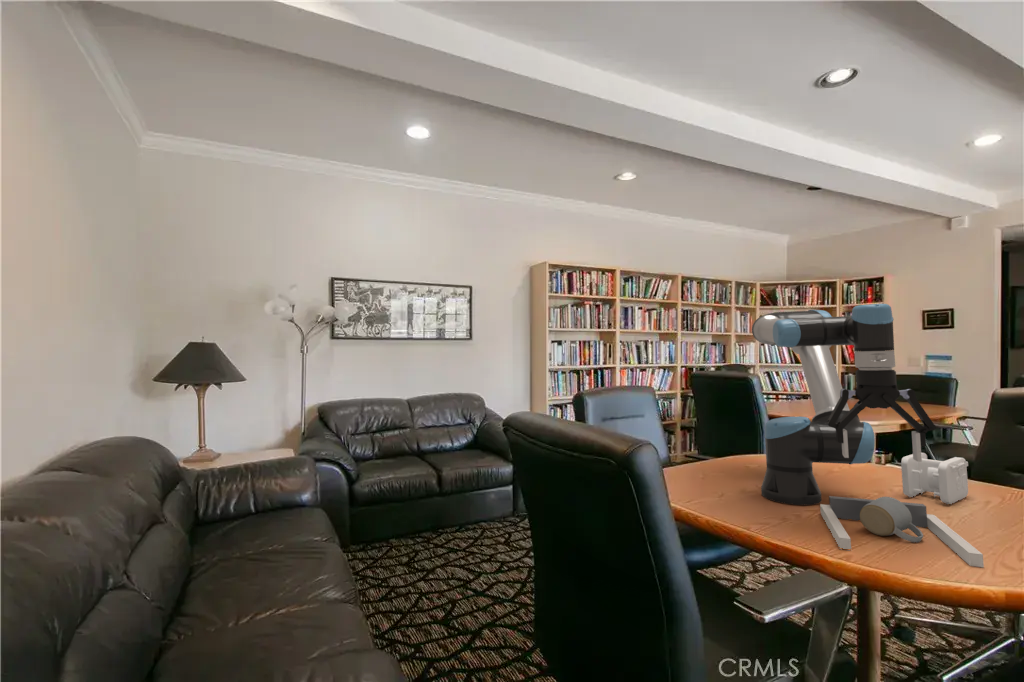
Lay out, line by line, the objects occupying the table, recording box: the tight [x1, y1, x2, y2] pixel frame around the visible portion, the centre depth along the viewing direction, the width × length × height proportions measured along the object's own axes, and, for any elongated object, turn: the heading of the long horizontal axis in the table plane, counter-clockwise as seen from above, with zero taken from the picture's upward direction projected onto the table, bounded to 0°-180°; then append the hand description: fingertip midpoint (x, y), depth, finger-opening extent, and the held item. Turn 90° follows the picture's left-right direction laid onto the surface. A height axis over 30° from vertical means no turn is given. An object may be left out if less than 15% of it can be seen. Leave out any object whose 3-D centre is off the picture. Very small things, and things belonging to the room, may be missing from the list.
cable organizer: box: [900, 452, 969, 505], centre depth 129 cm, size 15×11×12 cm
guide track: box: [819, 495, 985, 568], centre depth 104 cm, size 23×24×5 cm
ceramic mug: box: [860, 496, 924, 543], centre depth 105 cm, size 11×8×8 cm
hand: (880, 458), depth 107 cm, fingers open, 13 cm apart
